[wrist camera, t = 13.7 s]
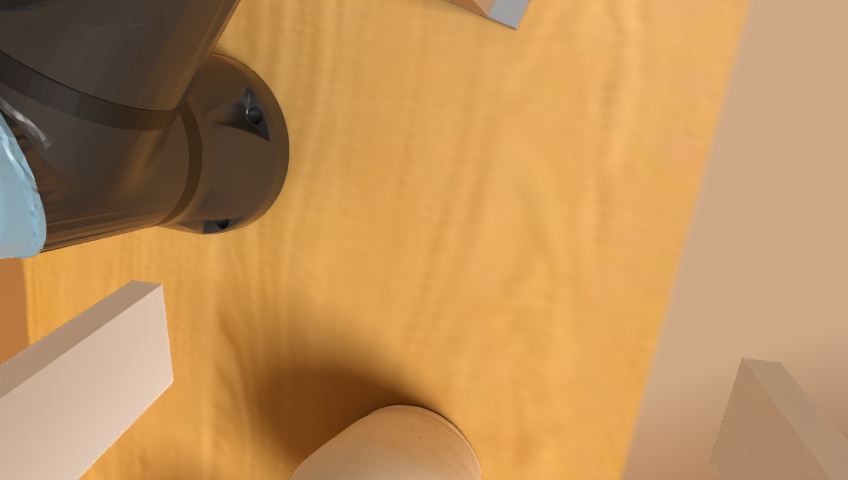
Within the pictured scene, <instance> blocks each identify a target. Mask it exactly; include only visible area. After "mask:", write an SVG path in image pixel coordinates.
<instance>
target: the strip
mask: <svg viewBox="0 0 848 480" xmlns="http://www.w3.org/2000/svg"><path fill="white" fill-rule="evenodd" d="M445 1H448V2H450V3H452V4H455V5H457V6H460V7H462V8H464V9H467V10H469V11H472V12H474V13H476V14H479V15H481V16H484V17H486V18H488V19H491V20H493V21H496V22H498V23H500V24H503V25H505V26H508V27H510V28H512V29H515V30H517V28H518V26H519V24H520V22H521V19H522V17H523V15H524V13H525V10H526V8H527V6H528V4H529V1H530V0H445Z"/></svg>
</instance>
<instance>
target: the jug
mask: <svg viewBox="0 0 848 480" xmlns="http://www.w3.org/2000/svg"><path fill="white" fill-rule="evenodd" d="M289 480H482V477H481V470H480V466H479V463H478V460H477V457H476V455H475V453H474V451H473V449H472V447H471V446H470V444H469V443H468V441H467V440H466V438H465V437H464V436H463V435H462V434H461V432H460V431H459V430H458V429H457V428H456V427H455V426H454V425H452V424H451V423H450V422H449V421H447V420H446V419H445V418H443V417H442V416H440V415H438V414H437V413H435V412H432V411H430V410H428V409H425V408H421V407H417V406H410V405H393V406H387V407H383V408H380V409H378V410H376V411H374V412H372V413H370V414H369V415H367V416H366V417H364V418H362V419H360V420H358V421H356V422H355V423H353V424H352V425H350V426H349V427H348V428H346V429H345V430H344V431H342V432H341V433H339V434H338V435H337V436H335V437H334V438H332V439H331V440H330V441H328V442H327V443H326V444H324V445H323V446H322V447H320V448H319V449H317V450H316V451H315V452H314V453H312V454H311V455H310V456H309V457H308V458H306V459H305V460H304V461H303V462H302V463H301V464H300V465H299V466H298V468H297V469H296V470H295V471H294V473H293V474H292V475H291V477H290V478H289Z"/></svg>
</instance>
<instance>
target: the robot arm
mask: <svg viewBox="0 0 848 480" xmlns="http://www.w3.org/2000/svg"><path fill="white" fill-rule="evenodd" d="M239 2H240V0H0V259H4V258H10V257H15V258H29V257H33V256H35V255H37V254H38V253H43V252H47V251H51V250H55V249H60V248H64V247H68V246H72V245H77V244H81V243H85V242H89V241H94V240H98V239H102V238H106V237H111V236H115V235H119V234H123V233H128V232H132V231H136V230H141V229H145V228H149V227H154V226H159V227H164V228H169V229H174V230H179V231H184V232H190V233H195V234H219V233H224V232H228V231H231V230H235V229H239V228H242V227H244V226H247V225H249V224H251V223H253V222H254V221H256V220H257V219H259V218H260V217H261V216H262V215H263V214H265V213H266V212H267V210H268V209H269V208H270V207H271V206H272V205H273V203H274V202H275V200H276V199H277V197H278V195H279V193H280V191H281V189H282V187H283V184H284V181H285V178H286V174H287V169H288V163H289V139H288V132H287V127H286V123H285V119H284V116H283V113H282V111H281V108H280V106H279V104H278V102H277V100H276V98H275V96H274V95H273V93H272V92H271V90H270V89H269V87H268V86H267V85H266V84H265V82H264V81H263V80H262V79H261V78H260V77H259V76H258V75H257V74H256V73H255V72H254V71H252V70H251V69H250V68H248V67H247V66H245V65H244V64H242V63H240V62H239V61H237V60H234V59H232V58H229V57H226V56H222V55H217V54H212V52H213V50H214V48H215V46H216V44H217V43H218V41H219V39H220V37H221V35H222V33H223V32H224V30H225V28H226V26H227V24H228V22H229V21H230V19H231V17H232V15H233V13H234V11H235V10H236V8H237V6H238V4H239ZM172 383H173V373H172V364H171V356H170V347H169V338H168V329H167V320H166V312H165V303H164V294H163V285H162V284H157V283H149V282H141V281H133V280H132V281H131V282H129V283H128V284H126V285H125V286H123V287H122V288H120V289H118V290H117V291H115V292H114V293H112V294H111V295H109V296H107V297H106V298H104V299H103V300H101V301H100V302H98V303H96V304H95V305H93V306H92V307H90V308H89V309H87V310H86V311H84V312H82V313H81V314H79V315H78V316H76V317H75V318H73V319H71V320H70V321H68V322H67V323H65V324H64V325H62V326H61V327H59V328H57V329H56V330H54V331H53V332H51V333H50V334H48V335H46V336H45V337H43V338H42V339H40V340H39V341H37V342H36V343H34V344H32V345H31V346H29V347H28V348H26V349H25V350H23V351H21V352H20V353H18V354H17V355H15V356H14V357H12V358H10V359H9V360H7V361H6V362H5V363H3V364H1V365H0V480H78V479H79V478H80V477H81V476H82V475H83V474H84V473H85V472H86V471H87V470H88V469H89V468H90V467H91V466H92V465H93V464H94V463H95V462H96V461H97V460H98V458H99V457H100V456H101V455H102V454H103V453H104V452H105V451H106V450H107V449H108V448H109V447H110V446H111V445H112V444H113V443H114V442H115V441H116V440H117V439H118V438H119V437H120V436H121V435H122V434H123V433H124V432H125V431H126V430H127V429H128V428H129V427H130V426H131V425H132V424H133V423H134V422H135V421H136V420H137V419H138V418H139V417H140V416H141V415H142V414H143V413H144V411H145V410H146V409H147V408H148V407H149V406H150V405H151V404H152V403H153V402H154V401H155V400H156V399H157V398H158V397H159V396H160V395H161V394H162V393H163V392H164V391H165V390H166V389H167V388H168V387H169V386H170V385H171V384H172ZM710 462H711V464H712V467H713V469H714V471H715V473H716V475H717V477H718V479H719V480H848V442H847V441H846V440H845V439H844V437H843V436H842V435H841V434H840V433H839V431H838V430H837V429H836V428H835V427H834V426H833V424H832V423H831V422H830V421H829V419H828V418H827V417H826V416H825V415H824V413H823V412H822V411H821V410H820V409H819V408H818V406H817V405H816V404H815V403H814V402H813V401H812V399H811V398H810V397H809V396H808V395H807V393H806V392H805V391H804V390H803V389H802V388H801V386H800V385H799V384H798V383H797V382H796V380H795V379H794V378H793V377H792V376H791V375H790V373H789V372H788V371H787V370H786V369H785V367H784V366H783V365H782V364H781V363H777V362H770V361H762V360H754V359H746V358H742V361H741V364H740V367H739V370H738V373H737V377H736V380H735V383H734V386H733V389H732V393H731V396H730V399H729V402H728V405H727V408H726V412H725V415H724V418H723V421H722V425H721V428H720V431H719V434H718V437H717V440H716V444H715V447H714V450H713V453H712V456H711V460H710Z"/></svg>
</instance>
